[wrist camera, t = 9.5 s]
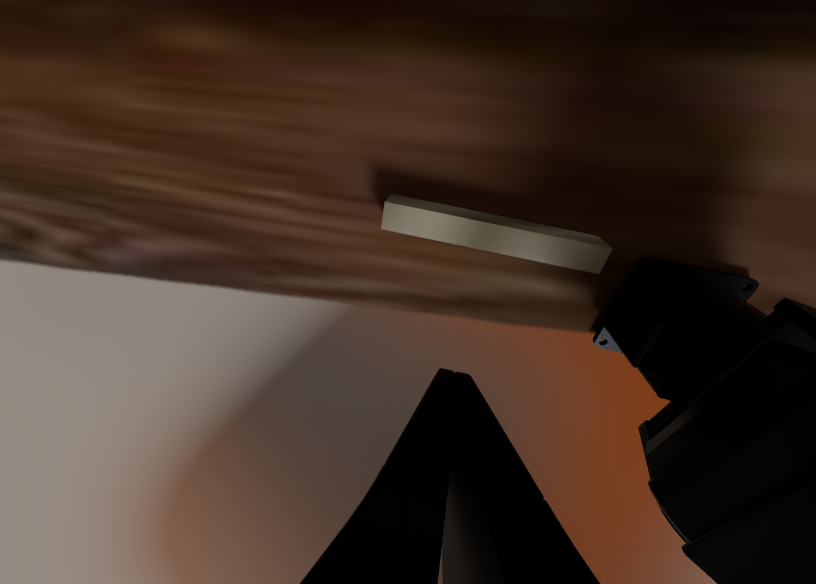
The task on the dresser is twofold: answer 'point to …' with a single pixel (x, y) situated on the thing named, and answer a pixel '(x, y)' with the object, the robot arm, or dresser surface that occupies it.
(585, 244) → the slot rails
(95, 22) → the dresser surface
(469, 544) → the robot arm
